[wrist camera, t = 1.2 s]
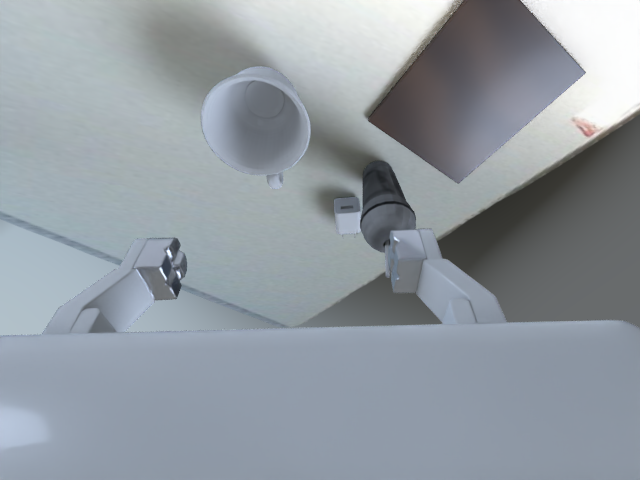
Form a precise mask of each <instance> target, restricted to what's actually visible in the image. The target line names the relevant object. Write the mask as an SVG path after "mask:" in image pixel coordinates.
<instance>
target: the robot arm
mask: <svg viewBox="0 0 640 480" xmlns="http://www.w3.org/2000/svg"><path fill="white" fill-rule="evenodd" d="M390 243H391V245H390V246H389V247H388V265H389V270H390V271H391V272H392V276H391V281H392V287H393V292H394V293H416V294H417V295H418V297H420V299H421V300H422V301H423V302H424V303H425V304H426V305H427V306H428V308H430V310H432V312H433V313H434V314H435V315H436V316H437V317H438V318H439V320H440V321H441V322H442V324H435V325H434V324H433V325H394V326H356V327H317V328H275V329H236V330H198V331H159V332H158V331H157V332H125V331H126V330H127V329H128V328H129V327H130V326H131V325H132V324H133V323H134V322H135V321H136V320H137V319H138V318H139V317H140V316H141V315H142V314H143V313H144V312H145V311H146V310H147V309H148V308H149V307H150V306H151V305H152V304H153V303H154V302H155V300H170V299H177V297H178V294H179V291H180V288H181V286H182V285H181V283H180V280H181V279H182V278H184V277H185V274H186V271H187V260H186V256H185V254H184V253H183V252H182V251H180V250H179V248H180V243H179V241H178V239H177V238H137V239H135V240H134V241H133V243H132V245H131V246H130V248H129V250H128V252H127V254H126V256H125V257H124V259H123V261H122V263H121V265H120V266H119V268H118V269H114V270H113V271H111V272H110V273H108V274H107V275H106V276H104V277H103V278H101V279H100V280H98V281H97V282H95V283H94V284H93V285H91V286H90V287H88V288H87V289H85V290H84V291H82V292H81V293H80V294H78V295H77V296H75V297H74V298H73V299H71V300H69V301H68V302H67V303H65V304H64V305H62V306H61V307H59V308H58V309H57V311H56V312H55V314H54V316H53V317H52V319H51V320H50V322H49V323H48V325H47V326H46V328H45V330H44V331H43V333H42V334H40V335H3V336H2V335H1V336H0V480H640V328H639V327H637V326H636V325H634V324H632V323H629V322H626V321H620V320H590V321H589V320H588V321H554V322H553V321H551V322H513V323H507V321H506V319H505V316H504V314H503V312H502V310H501V307H500V305H499V303H498V301H497V298H496V296H494V295H493V294H492V293H490V292H489V291H488V290H487V289H485V288H484V287H483V286H481V285H480V284H479V283H477V282H476V281H475V280H474V279H472V278H471V277H470V276H468V275H467V274H466V273H464V272H463V271H462V270H460V269H459V268H458V267H457V266H455V265H454V264H453V263H451V262H450V261H449V260H447V259H443V258H442V255H441V252H440V250H439V247H438V244H437V241H436V238H435V235H434V232H433V230H432V229H431V228H427V229H409V230H391V232H390Z"/></svg>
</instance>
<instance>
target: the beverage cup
mask: <svg viewBox="0 0 640 480" xmlns="http://www.w3.org/2000/svg"><path fill="white" fill-rule="evenodd" d="M415 228H416V217H415V213H414V211H413V210H412V209H411V207H410V205H409V204H408V203H407V201H406V199H405V197H404V194H403V192H402V190H401V187H400V185H399V183H398V180H397V178H396V176H395V173H394V172H393V170H392V167H391V166H390V165H389V164H388V163H386V162H383V161H376V162H372V163H371V164H369V165H368V166H367V167H366V168H365V170H364V172H363V211H362V215H361V220H360V229H361V231H362V233H363V235H364V238H365V240H366V241H367V243H368V244H369V245H370V246H371V247H372V248H374V249H376V250H378V251H380V252H384V253H385V264H386V277H390V270H389V265H388V247H389V246H390V245H391V243H390V232H391V230H409V229H415Z"/></svg>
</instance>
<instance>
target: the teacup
mask: <svg viewBox="0 0 640 480" xmlns="http://www.w3.org/2000/svg"><path fill="white" fill-rule="evenodd" d="M201 127H202V131H203V134H204V137H205V140H206V141H207V143H208V145H209V147H210V148H211V150H212V151H213V152H214V153H215V154H216V155H217V156H218V157H219V158H220V159H221V160H222V161H223V162H225V163H226V164H227V165H229V166H230V167H232V168H234V169H236V170H238V171H241V172H243V173H247V174H251V175H266V176H267V181H268V184H269V186H270V187H271V188H272V189H278V188H280V187H281V186H282V184H283V171H285V170H287V169H289V168H291V167H292V166H294V165H295V164H296V163H297V162H298V161H299V160H300V159H301V158H302V156H303V155H304V153H305V151H306V149H307V147H308V144H309V140H310V133H311V127H310V120H309V117H308V113H307V111H306V109H305V107H304V105H303V104H302V102H301V101H300V99H299V96H298V94H297V91H296V89H295V88H294V86H293V85H292V83H291V82H290V81H289V80H288V79H287V78H286V77H285V76H284V75H283V74H282V73H280V72H278V71H277V70H274V69H272V68H269V67H261V66H257V67H251V68H247V69H245V70H242V71H241V72H239V73H237V74H236V75H235V76H231V77H229V78H226V79H224V80H222V81H221V82H219V83H218V84H217V85H215V86H214V87H213V88H212V89H211V91H210V92H209V93H208V95H207V97H206V98H205V101H204V103H203V106H202V111H201Z"/></svg>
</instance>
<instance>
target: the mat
mask: <svg viewBox="0 0 640 480" xmlns="http://www.w3.org/2000/svg"><path fill="white" fill-rule="evenodd" d="M585 73H586V72H585V71H584V70H583V69H582V68H581V67H580V66H579V65H578V64H577V62H576V61H575V60H574V59H573V58H572V57H571V56H570V55H569V54H568V53H567V51H566V50H565V49H564V48H563V47H562V46H561V45H560V44H559V43H558V42H557V40H556V39H555V38H554V37H553V36H552V35H551V34H550V33H549V32H548V31H547V29H546V28H545V27H544V26H543V25H542V24H541V23H540V22H539V21H538V20H537V19H536V17H535V16H534V15H533V14H532V13H531V12H530V11H529V10H528V9H527V8H526V6H525V5H524V4H523V3H522V2H521V1H520V0H464V2H463V3H462V4H461V5H460V7H459V8H458V9H457V10H456V11H455V13H454V14H453V15H452V16H451V18H450V19H449V20H448V21H447V22H446V24H445V25H444V26H443V27H442V29H441V30H440V31H439V32H438V33H437V35H436V36H435V37H434V38H433V40H432V41H431V42H430V43H429V44H428V46H427V47H426V48H425V49H424V51H423V52H422V53H421V54H420V55H419V57H418V58H417V59H416V60H415V62H414V63H413V64H412V65H411V66H410V68H409V69H408V70H407V71H406V72H405V74H404V75H403V76H402V77H401V79H400V80H399V81H398V82H397V83H396V85H395V86H394V87H393V88H392V90H391V91H390V92H389V93H388V94H387V96H386V97H385V98H384V99H383V101H382V102H381V103H380V104H379V105H378V107H377V108H376V109H375V110H374V112H373V113H372V114H371V115H370V116H369V118H368V121H369V122H371V123H372V124H373V125H375V126H376V127H378V128H379V129H381V130H382V131H383V132H385V133H386V134H388V135H389V136H391V137H392V138H394V139H395V140H396V141H398V142H399V143H401V144H402V145H404V146H405V147H406V148H408V149H409V150H411V151H412V152H414V153H415V154H416V155H418V156H419V157H421V158H422V159H424V160H425V161H426V162H428V163H429V164H431V165H432V166H434V167H435V168H436V169H438V170H439V171H441V172H442V173H444V174H445V175H447V176H448V177H449V178H451V179H452V180H454V181H455V182H457V183H460V182H461V181H462V180H463V179H464V178H465V177H467V176H468V175H469V174H470V173H471V172H472V171H473V170H475V169H476V168H477V167H478V166H479V165H480V164H482V163H483V162H484V161H485V160H486V159H487V158H488V157H490V156H491V155H492V154H493V153H494V152H495V151H496V150H498V149H499V148H500V147H501V146H502V145H503V144H505V143H506V142H507V141H508V140H509V139H510V138H511V137H513V136H514V135H515V134H516V133H517V132H518V131H519V130H521V129H522V128H523V127H524V126H525V125H526V124H528V123H529V122H530V121H531V120H532V119H533V118H534V117H536V116H537V115H538V114H539V113H540V112H541V111H542V110H544V109H545V108H546V107H547V106H548V105H549V104H551V103H552V102H553V101H554V100H555V99H556V98H557V97H559V96H560V95H561V94H562V93H563V92H564V91H565V90H567V89H568V88H569V87H570V86H571V85H572V84H574V83H575V82H576V81H577V80H578V79H579V78H580V77H582V76H583V75H584V74H585Z"/></svg>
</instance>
